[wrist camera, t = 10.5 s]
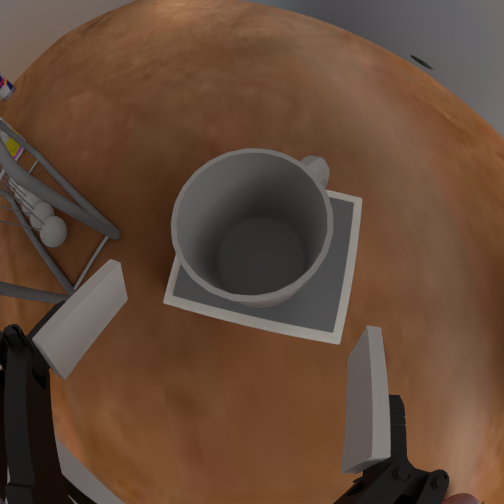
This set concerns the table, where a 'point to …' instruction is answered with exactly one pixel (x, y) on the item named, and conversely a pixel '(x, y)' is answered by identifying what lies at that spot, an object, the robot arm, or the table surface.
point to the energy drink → (5, 88)
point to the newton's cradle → (45, 216)
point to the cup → (254, 225)
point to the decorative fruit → (461, 499)
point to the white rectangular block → (303, 301)
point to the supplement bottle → (12, 143)
